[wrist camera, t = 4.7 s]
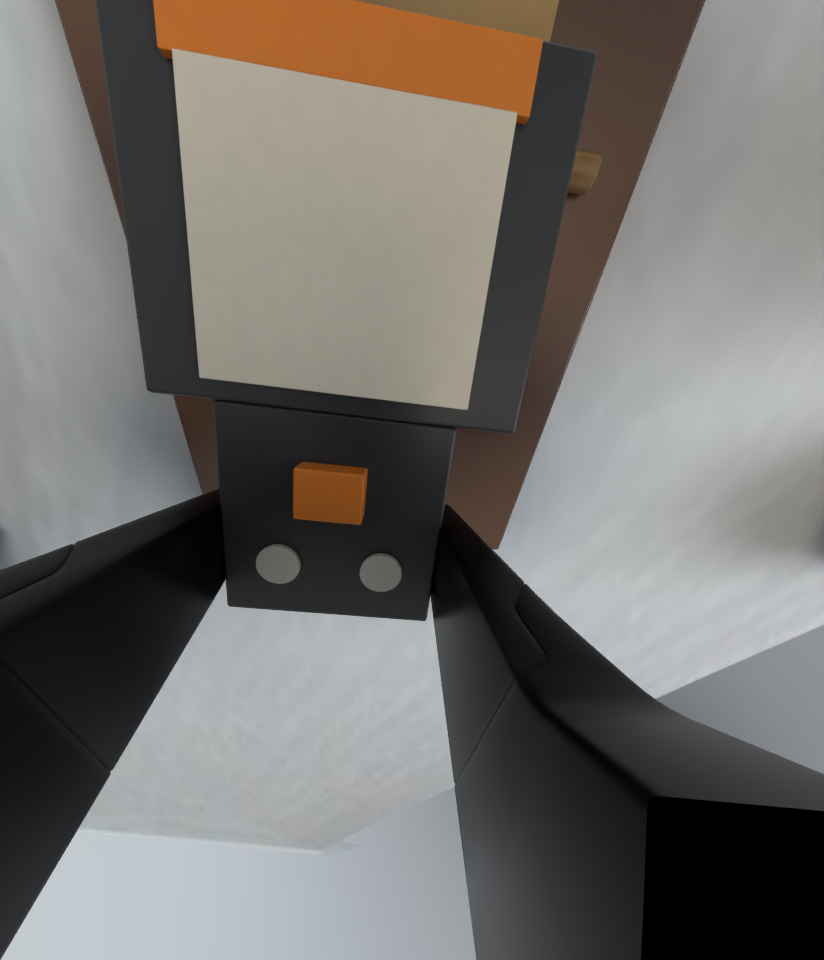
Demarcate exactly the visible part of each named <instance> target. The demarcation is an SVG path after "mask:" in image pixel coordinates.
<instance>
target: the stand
mask: <svg viewBox="0 0 824 960" xmlns="http://www.w3.org/2000/svg"><path fill="white" fill-rule="evenodd" d="M355 1H360V2H365V3H370V4H374V5H379V6H384V7H389V8H394V9H399V10H404V11H409V12H413V13H418V14H423V15H428V16H433V17H438V18H443V19H448V20H452V21H457V22H462V23H467V24H472V25H477V26H482V27H487V28H491V29H496V30H501V31H506V32H511V33H516V34H521V35H526V36H530V37H535V38H540V39H543V41H547V42H552V43H557V44H562V45H567V46H571V47H576V48H581V49H586V50H591V51H595V52H596V53H597V61H596V65H595V70H594V74H593V79H592V84H591V88H590V93H589V97H588V102H587V106H586V111H585V116H584V120H583V125H582V129H581V134H580V138H579V143H578V148H577V152H576V157H575V161H574V166H573V170H572V175H571V180H570V184H569V189H568V193H567V198H566V202H565V207H564V212H563V216H562V221H561V225H560V230H559V234H558V239H557V244H556V248H555V253H554V257H553V262H552V267H551V271H550V276H549V280H548V285H547V289H546V294H545V299H544V303H543V308H542V312H541V317H540V321H539V326H538V331H537V335H536V340H535V344H534V349H533V353H532V358H531V363H530V367H529V372H528V376H527V381H526V385H525V390H524V395H523V399H522V404H521V408H520V413H519V417H518V422H517V427H516V431H515V433H514V434H504V433H495V432H486V431H478V430H469V429H461V428H456V430H457V434H456V440H455V447H454V453H453V459H452V465H451V471H450V477H449V484H448V490H447V496H446V502H445V504H447V505H449V506H451V508H452V509H453V510H454V511H455V512H456V513H457V514H458V515H459V516H460V517H461V518H462V519H463V520H464V521H465V522H466V523H467V524H468V525H469V526H470V527H471V528H472V529H473V530H474V531H475V532H476V533H477V534H478V535H479V536H480V537H481V538H482V539H483V540H484V541H485V542H486V543H487V544H488V545H489V546H490V548H491V549H498V548H499V545H500V543H501V540H502V538H503V535H504V532H505V530H506V527H507V524H508V522H509V519H510V516H511V514H512V511H513V508H514V506H515V503H516V500H517V498H518V495H519V492H520V490H521V487H522V485H523V482H524V479H525V477H526V474H527V471H528V469H529V466H530V463H531V461H532V458H533V455H534V453H535V450H536V447H537V445H538V442H539V439H540V437H541V434H542V432H543V429H544V426H545V424H546V421H547V418H548V416H549V413H550V410H551V408H552V405H553V402H554V400H555V397H556V394H557V392H558V389H559V387H560V384H561V381H562V379H563V376H564V373H565V371H566V368H567V365H568V363H569V360H570V357H571V355H572V352H573V349H574V347H575V344H576V341H577V339H578V336H579V334H580V331H581V328H582V326H583V323H584V320H585V318H586V315H587V312H588V310H589V307H590V304H591V302H592V299H593V296H594V294H595V291H596V289H597V286H598V283H599V281H600V278H601V275H602V273H603V270H604V267H605V265H606V262H607V259H608V257H609V254H610V251H611V249H612V246H613V243H614V241H615V238H616V236H617V233H618V230H619V228H620V225H621V222H622V220H623V217H624V214H625V212H626V209H627V206H628V204H629V201H630V198H631V196H632V193H633V191H634V188H635V185H636V183H637V180H638V177H639V175H640V172H641V169H642V167H643V164H644V161H645V159H646V156H647V153H648V151H649V148H650V145H651V143H652V140H653V138H654V135H655V132H656V130H657V127H658V124H659V122H660V119H661V116H662V114H663V111H664V108H665V106H666V103H667V100H668V98H669V95H670V93H671V90H672V87H673V85H674V82H675V79H676V77H677V74H678V71H679V69H680V66H681V63H682V61H683V58H684V55H685V53H686V50H687V47H688V45H689V42H690V40H691V37H692V34H693V32H694V29H695V26H696V24H697V21H698V18H699V16H700V13H701V10H702V8H703V5H704V2H705V0H355ZM55 2H56V5H57V9H58V12H59V15H60V19H61V22H62V26H63V29H64V32H65V36H66V39H67V42H68V46H69V49H70V52H71V56H72V59H73V62H74V66H75V69H76V72H77V76H78V79H79V82H80V86H81V89H82V92H83V96H84V99H85V102H86V106H87V109H88V112H89V116H90V119H91V122H92V126H93V129H94V133H95V136H96V139H97V143H98V146H99V149H100V153H101V156H102V159H103V163H104V166H105V169H106V173H107V176H108V179H109V183H110V186H111V189H112V193H113V196H114V199H115V203H116V206H117V209H118V213H119V216H120V219H121V223H122V226H123V229H124V233H125V236H126V230H125V222H124V215H123V207H122V200H121V192H120V185H119V177H118V170H117V162H116V155H115V147H114V140H113V132H112V125H111V117H110V110H109V102H108V95H107V87H106V80H105V72H104V65H103V57H102V50H101V43H100V35H99V28H98V20H97V13H96V5H95V0H55ZM126 240H127V237H126ZM173 397H174V400H175V403H176V407H177V410H178V413H179V417H180V420H181V423H182V427H183V430H184V433H185V437H186V440H187V444H188V447H189V450H190V454H191V457H192V460H193V464H194V467H195V470H196V474H197V477H198V480H199V484H200V487H201V490H202V494H206V493H209V492H211V491H214V490H217V489H219V478H218V465H217V451H216V437H215V423H214V410H213V402H214V401H216V400H213V399H204V398H196V397H187V396H179V395H173Z"/></svg>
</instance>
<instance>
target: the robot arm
mask: <svg viewBox="0 0 824 960" xmlns="http://www.w3.org/2000/svg"><path fill="white" fill-rule="evenodd" d="M225 580H226V575H225V561H224V547H223V531H222V510H221V505H220V492H219V489H217V490H214V491H211V492H209V493H206V494H203V495H201V496H198V497H195V498H193V499H190V500H187V501H185V502H182V503H179V504H177V505H174V506H171V507H169V508H166V509H163V510H161V511H158V512H156V513H153V514H150V515H148V516H145V517H142V518H140V519H137V520H134V521H132V522H129V523H126V524H124V525H121V526H118V527H116V528H113V529H110V530H108V531H105V532H102V533H100V534H97V535H94V536H92V537H89V538H86V539H84V540H81V541H79V542H76V543H75V545H73V544H70V545H68V546H65V547H62V548H60V549H57V550H54V551H52V552H49V553H46V554H44V555H41V556H38V557H35V558H33V559H30V560H27V561H24V562H22V563H19V564H16V565H13V566H11V567H8V568H5V569H2V570H0V959H1V958H2V956H3V955H4V953H5V951H6V949H7V948H8V946H9V945H10V943H11V941H12V939H13V938H14V936H15V934H16V933H17V931H18V929H19V928H20V926H21V924H22V923H23V921H24V919H25V918H26V916H27V914H28V912H29V911H30V909H31V907H32V906H33V904H34V902H35V901H36V899H37V897H38V896H39V894H40V892H41V891H42V889H43V887H44V885H45V884H46V882H47V880H48V879H49V877H50V875H51V874H52V872H53V870H54V869H55V867H56V865H57V864H58V862H59V860H60V859H61V857H62V855H63V853H64V852H65V850H66V848H67V847H68V845H69V843H70V842H71V840H72V838H73V837H74V835H75V833H76V832H77V830H78V828H79V826H80V825H81V823H82V821H83V820H84V818H85V816H86V815H87V813H88V811H89V810H90V808H91V806H92V805H93V803H94V801H95V799H96V798H97V796H98V794H99V793H100V791H101V789H102V788H103V786H104V784H105V783H106V781H107V779H108V778H109V776H110V774H111V772H110V771H111V770H113V768H114V767H115V765H116V763H117V762H118V760H119V758H120V757H121V755H122V753H123V752H124V750H125V748H126V747H127V745H128V743H129V742H130V740H131V738H132V736H133V735H134V733H135V731H136V730H137V728H138V726H139V725H140V723H141V721H142V720H143V718H144V716H145V715H146V713H147V711H148V709H149V708H150V706H151V704H152V703H153V701H154V699H155V698H156V696H157V694H158V693H159V691H160V689H161V688H162V686H163V684H164V682H165V681H166V679H167V677H168V676H169V674H170V672H171V671H172V669H173V667H174V666H175V664H176V662H177V661H178V659H179V657H180V656H181V654H182V652H183V650H184V649H185V647H186V645H187V644H188V642H189V640H190V639H191V637H192V635H193V634H194V632H195V630H196V629H197V627H198V625H199V623H200V622H201V620H202V618H203V617H204V615H205V613H206V612H207V610H208V608H209V607H210V605H211V603H212V602H213V600H214V598H215V596H216V595H217V593H218V591H219V590H220V588H221V586H222V585H223V583H224V581H225ZM431 603H432V611H433V619H434V626H435V634H436V642H437V650H438V658H439V666H440V674H441V682H442V690H443V698H444V706H445V714H446V722H447V729H448V737H449V745H450V753H451V761H452V769H453V777H454V783H455V794H456V802H457V810H458V817H459V825H460V833H461V840H462V849H463V857H464V865H465V872H466V881H467V888H468V897H469V905H470V913H471V920H472V928H473V936H474V944H475V952H476V960H824V774H822V773H820V772H817V771H815V770H812V769H810V768H807V767H805V766H803V765H800V764H798V763H795V762H793V761H791V760H788V759H786V758H783V757H781V756H779V755H776V754H774V753H771V752H769V751H766V750H764V749H762V748H759V747H757V746H754V745H752V744H750V743H747V742H745V741H742V740H740V739H738V738H735V737H733V736H730V735H728V734H726V733H723V732H721V731H718V730H716V729H713V728H711V727H709V726H706V725H704V724H701V723H699V722H697V721H694V720H692V719H690V718H687V717H685V716H683V715H681V714H679V713H677V712H676V711H673V710H672V709H670V708H668V707H667V706H665V705H663V704H662V703H660V702H658V701H657V700H656V699H654V698H653V697H652V696H650V695H649V694H647V693H646V692H645V691H643V690H642V689H641V688H640V687H639V686H637V685H636V684H635V683H634V682H633V681H631V680H630V679H629V678H628V677H627V676H626V675H625V674H624V673H622V672H621V671H620V670H619V669H618V668H617V667H616V666H614V665H613V664H612V663H611V662H610V661H609V660H608V659H606V658H605V657H604V656H603V655H602V654H601V653H600V652H598V651H597V650H596V649H595V648H594V647H593V646H592V645H590V644H589V643H588V642H587V641H586V640H585V639H584V638H582V637H581V636H580V635H579V634H578V633H577V632H576V631H575V630H573V629H572V628H571V627H570V626H569V625H568V624H567V623H566V622H565V621H564V620H562V619H561V618H560V617H559V616H558V615H557V614H556V613H555V612H554V611H553V610H552V609H551V608H550V607H549V606H548V605H547V604H546V603H545V602H544V601H543V600H542V599H541V598H539V597H538V596H537V595H536V594H535V592H534V591H533V590H532V589H531V588H530V587H529V586H528V585H527V584H524V581H523V580H522V579H521V578H520V577H519V576H518V575H517V574H516V573H515V572H514V571H513V570H512V569H511V568H510V567H509V566H508V565H507V564H506V563H505V562H504V561H503V560H502V559H501V558H500V557H499V556H498V555H497V554H496V553H495V552H494V551H493V550H492V549H491V548H490V546H489V545H488V544H487V543H486V542H485V541H484V540H483V539H482V538H481V537H480V536H479V535H478V534H477V533H476V532H475V531H474V530H473V529H472V528H471V527H470V526H469V525H468V524H467V523H466V522H465V521H464V520H463V519H462V518H461V517H460V516H459V515H458V514H457V513H456V512H455V511H454V510H453V509H452V508H451V506H449V505H447V504H445V508H444V515H443V521H442V527H441V531H440V537H439V544H438V550H437V557H436V563H435V570H434V576H433V582H432V589H431Z"/></svg>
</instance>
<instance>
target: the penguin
mask: <svg viewBox="0 0 824 960" xmlns="http://www.w3.org/2000/svg"><path fill="white" fill-rule="evenodd" d="M95 5H96V13H97V20H98V28H99V35H100V43H101V50H102V57H103V65H104V72H105V80H106V87H107V95H108V102H109V110H110V117H111V125H112V132H113V140H114V147H115V155H116V162H117V170H118V177H119V185H120V192H121V200H122V207H123V215H124V222H125V230H126V237H127V245H128V252H129V260H130V267H131V275H132V282H133V290H134V297H135V305H136V312H137V320H138V327H139V335H140V342H141V350H142V357H143V365H144V372H145V380H146V387H147V390H148V391H150V392H153V393H162V394H170V395H179V396H187V397H196V398H204V399H213V400H216V401H214V402H213V410H214V423H215V437H216V451H217V465H218V478H219V492H220V505H221V510H222V531H223V547H224V561H225V575H226V588H227V602H228V606H230V607H244V608H257V609H271V610H284V611H297V612H311V613H324V614H338V615H351V616H365V617H378V618H391V619H405V620H418V621H425V620H426V618H427V613H428V607H429V601H430V595H431V589H432V582H433V576H434V570H435V563H436V557H437V550H438V544H439V537H440V531H441V527H442V521H443V515H444V508H445V502H446V496H447V490H448V484H449V477H450V471H451V465H452V459H453V453H454V447H455V440H456V434H457V430H456V428H461V429H469V430H478V431H486V432H495V433H504V434H514V433H515V431H516V427H517V422H518V417H519V413H520V408H521V404H522V399H523V395H524V390H525V385H526V381H527V376H528V372H529V367H530V363H531V358H532V353H533V349H534V344H535V340H536V335H537V331H538V326H539V321H540V317H541V312H542V308H543V303H544V299H545V294H546V289H547V285H548V280H549V276H550V271H551V267H552V262H553V257H554V253H555V248H556V244H557V239H558V234H559V230H560V225H561V221H562V216H563V212H564V207H565V202H566V198H567V193H568V189H569V184H570V180H571V175H572V170H573V166H574V161H575V157H576V152H577V148H578V143H579V138H580V134H581V129H582V125H583V120H584V116H585V111H586V106H587V102H588V97H589V93H590V88H591V84H592V79H593V74H594V70H595V65H596V61H597V53H596V52H595V51H591V50H586V49H581V48H576V47H571V46H567V45H562V44H557V43H552V42H547V41H543V39H540V38H535V37H530V36H526V35H521V34H516V33H511V32H506V31H501V30H496V29H491V28H487V27H482V26H477V25H472V24H467V23H462V22H457V21H452V20H448V19H443V18H438V17H433V16H428V15H423V14H418V13H413V12H409V11H404V10H399V9H394V8H389V7H384V6H379V5H374V4H370V3H365V2H360V1H355V0H95Z"/></svg>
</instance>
